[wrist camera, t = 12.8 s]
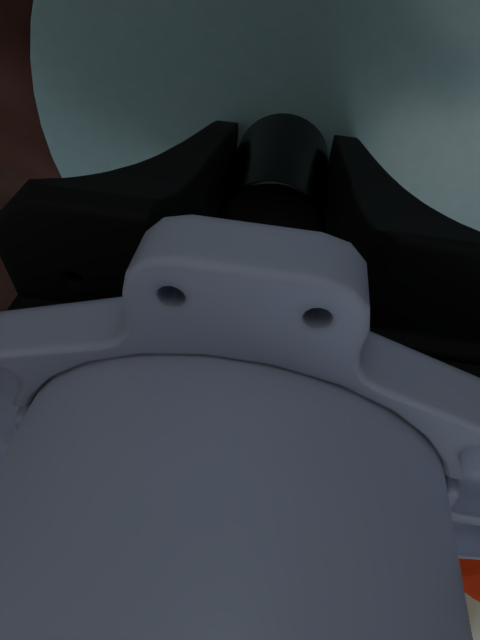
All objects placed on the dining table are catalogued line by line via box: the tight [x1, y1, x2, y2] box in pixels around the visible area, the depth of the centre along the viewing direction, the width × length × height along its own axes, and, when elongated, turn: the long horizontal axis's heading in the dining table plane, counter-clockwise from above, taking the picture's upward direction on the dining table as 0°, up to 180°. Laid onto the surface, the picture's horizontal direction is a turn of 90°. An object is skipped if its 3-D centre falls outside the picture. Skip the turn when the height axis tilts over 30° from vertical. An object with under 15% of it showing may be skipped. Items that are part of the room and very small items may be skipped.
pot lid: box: [30, 0, 480, 233], centre depth 12 cm, size 15×15×5 cm
